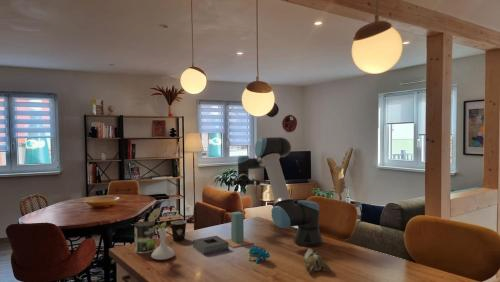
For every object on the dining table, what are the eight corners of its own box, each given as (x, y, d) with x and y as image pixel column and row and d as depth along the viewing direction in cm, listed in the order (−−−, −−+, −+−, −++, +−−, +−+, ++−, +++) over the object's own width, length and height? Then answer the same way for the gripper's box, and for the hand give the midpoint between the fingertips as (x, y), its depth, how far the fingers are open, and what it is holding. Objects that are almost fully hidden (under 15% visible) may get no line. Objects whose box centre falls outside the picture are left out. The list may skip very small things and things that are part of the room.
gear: (274, 256, 158) (264, 246, 153) (270, 268, 154) (260, 258, 149) (255, 255, 164) (245, 245, 159) (251, 266, 161) (241, 256, 155)
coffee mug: (188, 237, 194) (188, 220, 194) (183, 242, 186) (183, 224, 186) (169, 236, 196) (168, 220, 195) (163, 241, 187) (163, 224, 187)
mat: (253, 243, 183) (253, 242, 183) (233, 247, 176) (233, 246, 176) (241, 237, 194) (241, 236, 194) (221, 241, 187) (221, 240, 187)
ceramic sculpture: (320, 243, 155) (332, 257, 140) (320, 261, 156) (332, 277, 141) (298, 245, 154) (308, 259, 139) (298, 263, 154) (308, 279, 140)
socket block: (228, 250, 173) (228, 242, 173) (203, 255, 165) (203, 247, 165) (216, 242, 185) (216, 235, 184) (193, 247, 177) (193, 239, 177)
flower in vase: (167, 251, 171) (166, 203, 170) (179, 257, 162) (178, 207, 162) (143, 258, 161) (143, 207, 161) (155, 265, 153) (154, 211, 153)
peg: (243, 241, 184) (243, 213, 184) (235, 243, 181) (235, 214, 181) (239, 239, 188) (238, 211, 188) (231, 240, 186) (231, 212, 185)
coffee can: (159, 248, 175) (158, 222, 175) (143, 255, 166) (143, 227, 166) (145, 245, 180) (145, 220, 180) (130, 251, 172) (129, 224, 171)
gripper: (262, 185, 222) (264, 190, 200) (224, 186, 221) (223, 191, 199) (262, 174, 221) (264, 178, 200) (224, 174, 220) (223, 179, 199)
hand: (244, 184), depth 200 cm, fingers open, 13 cm apart
